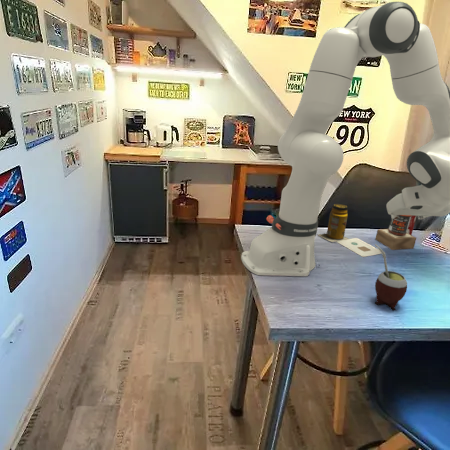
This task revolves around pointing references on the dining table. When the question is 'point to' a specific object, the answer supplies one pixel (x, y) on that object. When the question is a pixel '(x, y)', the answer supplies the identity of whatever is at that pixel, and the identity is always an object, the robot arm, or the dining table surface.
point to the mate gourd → (389, 286)
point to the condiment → (336, 223)
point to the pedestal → (395, 240)
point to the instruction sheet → (359, 247)
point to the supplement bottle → (399, 225)
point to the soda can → (411, 224)
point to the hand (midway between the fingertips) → (406, 217)
